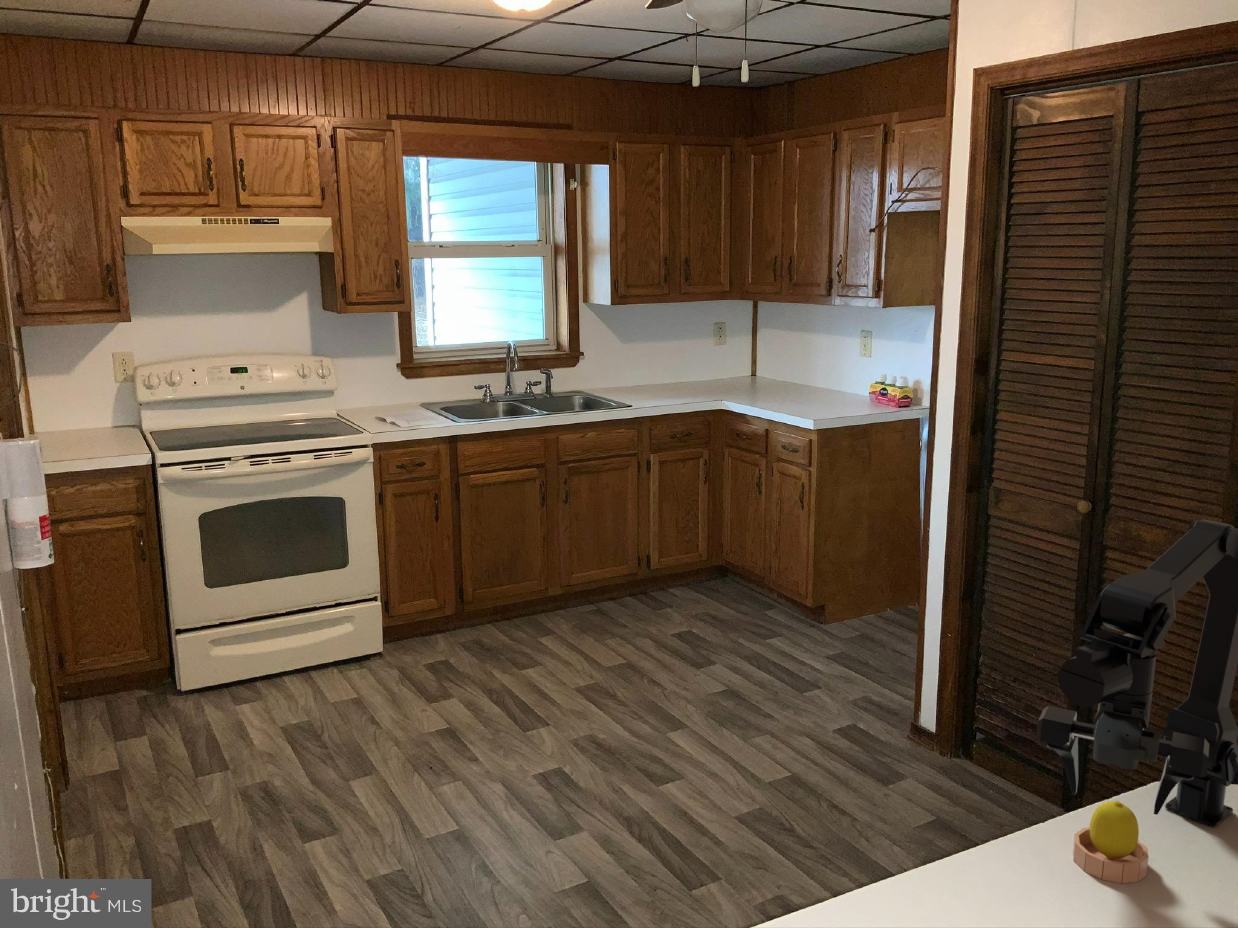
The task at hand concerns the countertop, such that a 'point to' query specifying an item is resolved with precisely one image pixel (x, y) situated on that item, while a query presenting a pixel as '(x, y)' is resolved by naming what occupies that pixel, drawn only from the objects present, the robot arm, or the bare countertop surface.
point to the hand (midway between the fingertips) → (1114, 802)
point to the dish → (1106, 869)
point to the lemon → (1114, 830)
